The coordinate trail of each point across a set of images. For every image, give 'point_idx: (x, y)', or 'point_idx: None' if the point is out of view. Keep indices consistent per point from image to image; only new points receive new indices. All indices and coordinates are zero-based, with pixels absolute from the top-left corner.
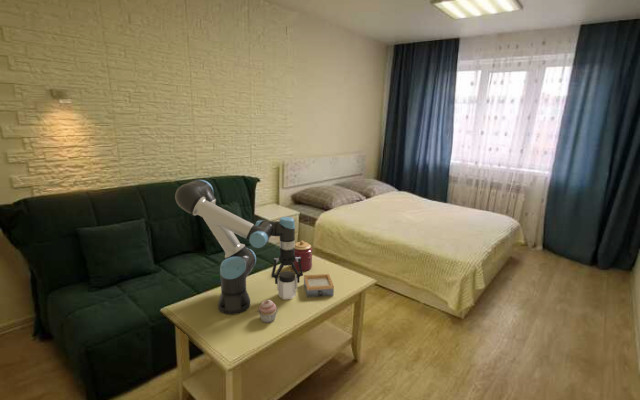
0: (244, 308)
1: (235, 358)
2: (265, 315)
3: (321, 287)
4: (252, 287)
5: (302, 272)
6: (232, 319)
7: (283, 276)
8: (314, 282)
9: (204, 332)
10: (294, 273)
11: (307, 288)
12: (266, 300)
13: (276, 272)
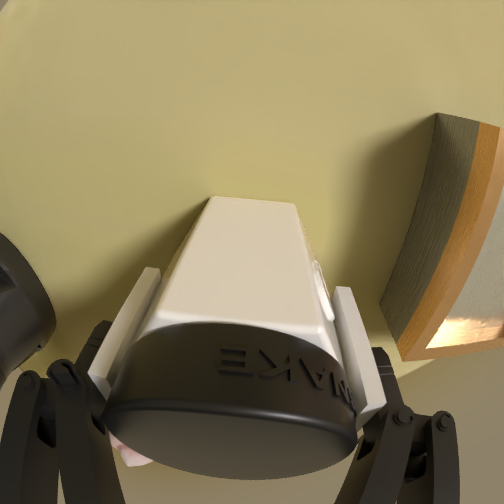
0: (46, 343)
1: None
2: None
3: (474, 349)
4: (13, 106)
5: (420, 474)
6: (43, 352)
7: (176, 465)
8: (499, 253)
9: (22, 365)
10: (350, 452)
11: (403, 356)
12: (125, 461)
13: (57, 428)
